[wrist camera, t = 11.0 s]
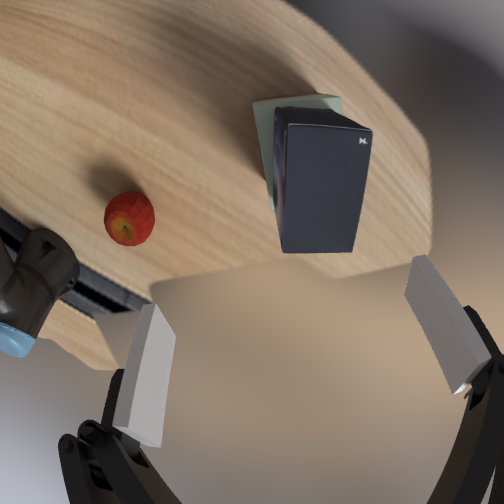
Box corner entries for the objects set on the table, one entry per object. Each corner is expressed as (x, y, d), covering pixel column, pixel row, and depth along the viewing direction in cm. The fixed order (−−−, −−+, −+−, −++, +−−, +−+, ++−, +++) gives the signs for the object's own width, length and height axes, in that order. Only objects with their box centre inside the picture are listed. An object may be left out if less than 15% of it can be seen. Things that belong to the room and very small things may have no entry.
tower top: (268, 193, 35) (271, 211, 31) (251, 102, 28) (252, 106, 24) (335, 183, 35) (347, 200, 31) (327, 94, 28) (340, 97, 24)
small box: (270, 105, 24) (284, 120, 16) (333, 108, 24) (378, 127, 16) (269, 200, 31) (279, 256, 22) (326, 200, 31) (355, 254, 22)
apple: (146, 175, 38) (127, 197, 32) (170, 217, 42) (157, 245, 36) (108, 195, 39) (87, 219, 33) (132, 233, 44) (116, 261, 37)
